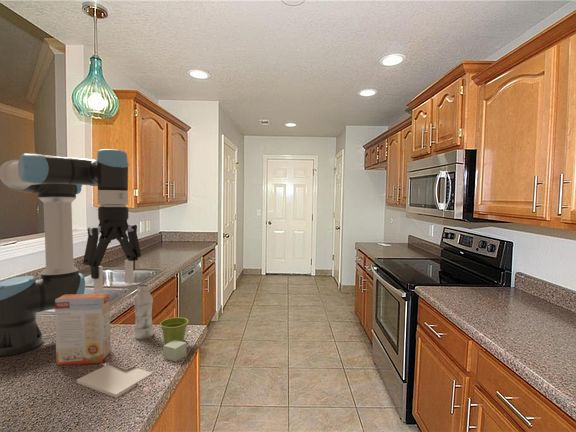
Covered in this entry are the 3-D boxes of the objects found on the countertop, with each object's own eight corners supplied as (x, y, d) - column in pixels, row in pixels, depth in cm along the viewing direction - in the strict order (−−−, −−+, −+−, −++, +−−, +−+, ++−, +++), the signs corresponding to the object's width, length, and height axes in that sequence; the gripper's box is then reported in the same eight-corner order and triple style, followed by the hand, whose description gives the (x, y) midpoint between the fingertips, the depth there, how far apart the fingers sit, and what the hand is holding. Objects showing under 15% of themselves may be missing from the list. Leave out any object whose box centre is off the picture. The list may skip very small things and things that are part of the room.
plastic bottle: (157, 338, 124) (157, 285, 123) (140, 345, 118) (140, 289, 117) (146, 334, 127) (146, 282, 126) (130, 340, 122) (129, 286, 121)
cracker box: (111, 355, 110) (110, 292, 109) (103, 364, 104) (102, 297, 103) (66, 356, 109) (65, 293, 108) (55, 365, 103) (54, 298, 102)
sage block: (163, 360, 107) (163, 345, 107) (174, 354, 112) (174, 339, 111) (175, 364, 105) (175, 348, 105) (186, 357, 109) (186, 342, 109)
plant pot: (193, 346, 118) (193, 322, 117) (168, 355, 111) (168, 329, 110) (179, 338, 124) (179, 315, 124) (155, 346, 117) (155, 322, 117)
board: (76, 383, 93) (76, 379, 93) (115, 364, 104) (115, 361, 104) (116, 398, 87) (116, 394, 87) (152, 376, 97) (152, 372, 97)
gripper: (84, 206, 82) (85, 297, 83) (153, 205, 101) (154, 279, 102) (65, 206, 85) (66, 293, 86) (136, 205, 104) (137, 276, 105)
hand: (114, 286), depth 94 cm, fingers open, 9 cm apart
